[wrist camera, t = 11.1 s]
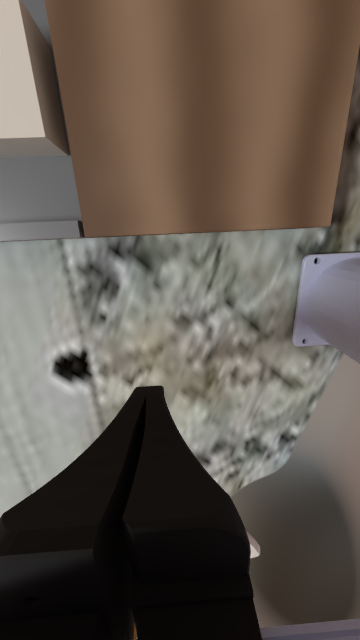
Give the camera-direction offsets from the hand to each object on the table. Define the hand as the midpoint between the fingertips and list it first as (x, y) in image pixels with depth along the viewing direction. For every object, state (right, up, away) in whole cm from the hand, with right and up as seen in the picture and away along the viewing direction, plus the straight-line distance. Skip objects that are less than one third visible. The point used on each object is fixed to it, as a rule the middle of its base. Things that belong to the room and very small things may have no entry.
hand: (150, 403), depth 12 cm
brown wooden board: (+3, +18, +4) cm, 19 cm away
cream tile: (-9, +17, +3) cm, 20 cm away
